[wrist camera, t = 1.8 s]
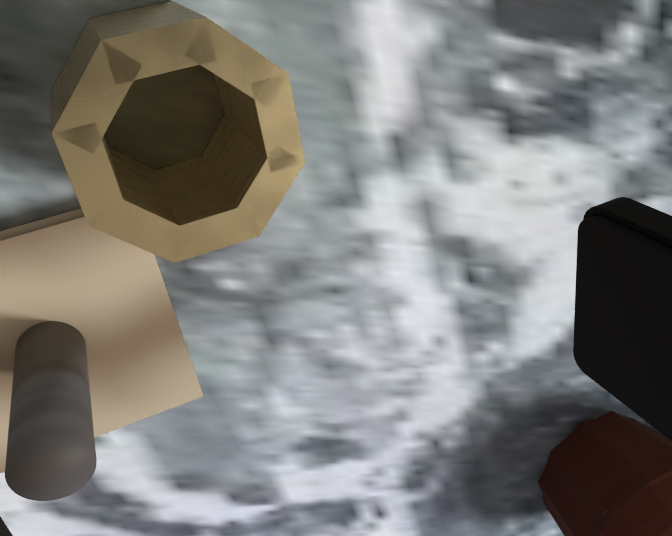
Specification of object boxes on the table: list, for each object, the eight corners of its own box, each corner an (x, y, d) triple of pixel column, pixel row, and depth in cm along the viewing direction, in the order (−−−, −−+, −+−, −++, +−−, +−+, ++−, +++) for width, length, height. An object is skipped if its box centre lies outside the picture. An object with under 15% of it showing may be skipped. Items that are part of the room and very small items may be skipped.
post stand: (-147, 273, 22) (-229, 410, 16) (132, 193, 25) (162, 283, 18) (-23, 466, 28) (-46, 631, 21) (199, 383, 30) (241, 507, 23)
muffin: (674, 394, 46) (809, 492, 38) (616, 510, 50) (726, 620, 42) (552, 401, 41) (678, 516, 33) (499, 529, 45) (599, 660, 37)
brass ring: (28, 31, 21) (21, 58, 16) (226, -11, 23) (274, 1, 18) (99, 215, 25) (111, 283, 20) (266, 166, 27) (315, 217, 22)
